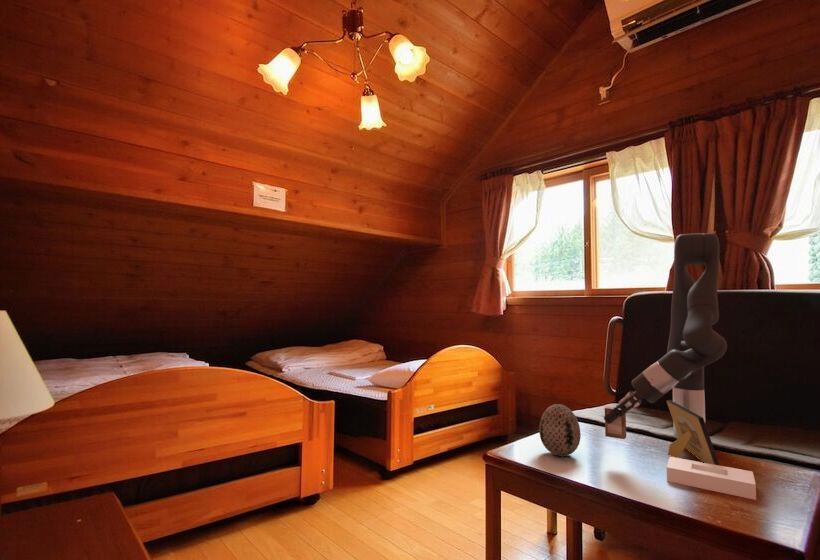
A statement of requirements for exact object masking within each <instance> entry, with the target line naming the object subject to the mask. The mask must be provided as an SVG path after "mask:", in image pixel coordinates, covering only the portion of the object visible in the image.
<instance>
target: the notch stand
mask: <svg viewBox="0 0 820 560" xmlns="http://www.w3.org/2000/svg"><path fill="white" fill-rule="evenodd" d="M719 465H720V464H719ZM719 465H714V464H708V463H703V462H701V461H698V460H697V461H696V460H690V459H684V458H680V457H678V458H675V457H671V456H669V459H668V461H667V464H666V482H670V483H674V484H679V485H684V486H687V487H688V486H689V487H692V488H697V489H702V490H707V491H711V492H712V491H713V492H717V493H722V494H726V495H731V496H736V497H741V498H746V499H750V500H754V501H756V500H757V485H756V480H755V475H754V472H753V471H751V470H745V469H740V468H736V467H735V468H734V467H730V466H723V465H720V466H719Z"/></svg>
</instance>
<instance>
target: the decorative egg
mask: <svg viewBox="0 0 820 560" xmlns="http://www.w3.org/2000/svg"><path fill="white" fill-rule="evenodd" d="M540 417H541V418H540V421H539V428H538V429H539V431H538V432H539V438H540V441H541V443H542V446H544V447H545V449H546V450H547V451H548V452H549V453H551V454H553V455H554V456H559V457H566V456H569V455H571V454H573V453H574V452H575V451H576V450H577V449H578V447H579V446H580V443H581V442H580V441H581V438H582V437H581V435H582V433H581V427H580V423H579V421H578V418H577V416H576V414H575V413H574V411H572V410H571V408H569V407H567V406H566V405H564V404H562V403H561V404H560V403H555V404H552V405H549V406H548V407H547V408H546V409H545V411H544V412H543V414H542V415H541V416H540Z"/></svg>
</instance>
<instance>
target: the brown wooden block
mask: <svg viewBox="0 0 820 560" xmlns="http://www.w3.org/2000/svg"><path fill="white" fill-rule="evenodd" d="M615 407H616V406H611V405H609V406H608V405H606V406H605V407H604V417H605V416H606V415H607V414H609V413H610V412H611V411H612V410H613V408H615ZM618 409H619V410H620V411H621V412H623V411H622V410H621V409H620V408H618ZM626 414H627V412H626V413H625V414H623V416H621V417H618V418H617V419H615V420H614V421H613V422H612V423H610V424H608V423H607V422H606V421H605V420H604V432H605V433H604V435H605V438H607V437H608V438H613V439H621V440H626V438H627V417H626V416H627V415H626Z"/></svg>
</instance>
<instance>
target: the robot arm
mask: <svg viewBox="0 0 820 560" xmlns="http://www.w3.org/2000/svg"><path fill="white" fill-rule="evenodd" d="M719 240H720V239H719V237H718V236H717V235H716V234H714V233H710V232H704V233H683V234H682V233H681V234H679V235H677V236H676V238H675V242H674V248H673V250H674V251H673V252H674V253H673V275H674V276H673V286H672V287H673V288H672V296H671V303H670V304H671V305H670V306H671V307H670V329H669V337H668V343H667V350H666V354H665V355H663V356H662V357H661V358H659V359H658V360H657V361H656V362H654V363H653V364H650V366H648V367H647V368H646V369H644V370H643V371H642V372H641V373H639V374H638V375H637V376H636V377H634V378H633V379H632V380H631V385H632V387H633V388H634V389H635V390H634V391H633V390H630V391H629V392H627V393H626V394H625V396H624V397H623V398H622V399H620V400H619V401H618V404H616V405H615V406H614V407H615V408H613V410H612V411H611V412H610V413H609V414H607V415H606V416H605V415H604V416H603V420H604V422H605V421H606V422H607V423H608V424H610V423H612V422H613V421H614V420H615V419H617V418H618V417H621V416H623V414H625V413H626V414H627V413H630V412H631V411H632V410H633V409H634V408H637V407H639V406H640V405H641V404H642V403H643V401H642V399H644V400H645V401H647V402H648V403H651V404H654V403H655V402H657V401H658V400H659V399H660V398H662V397H663V396H664V395H665V394H667V393H668V392H669V391H671V390H672V401H673V402H675V403H677V404H679V405H680V406H682V407H684V408H686V409H688V410H690V411H692V412H693V413H695V414H697V415H699V416H701V417H703V419H704V422H705V423H706V400H705V399H706V398H705V367H706V366H708V365H711V364H713V363H715V362H716V361H718V360H719V359H721V358H722V357H723V356H724V355H725V353H726V352H727V349H728V344H727V343H728V342H727V340H726V339H725V337H723V336H722V335H720V334H719V333H718V332H716V331H715V330H714V329H713V327H712V326H714V325H715V324H717V322H718V321H719V317H720V313H719V312H720V311H719V310H720V309H719V301H718V300H719V299H718V284H719V274H720V273H719V271H720V270H719V269H720V249H721V248H720V241H719ZM687 265H705V269H704V270H703V272H702V273H701V275H700V276H699V278H698V279H697V280H694V279H693V277H692V276H691V274H690V272H689V270H688V267H687ZM618 408H620V409H621V410H622V411H623V412H621V411H620V410H619V409H618ZM672 425H673V428H672V429H673V437H674V439H676V440H677V439H678V438H679V437H678V434H677V431H676V428H675V425H674V422H672Z"/></svg>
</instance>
